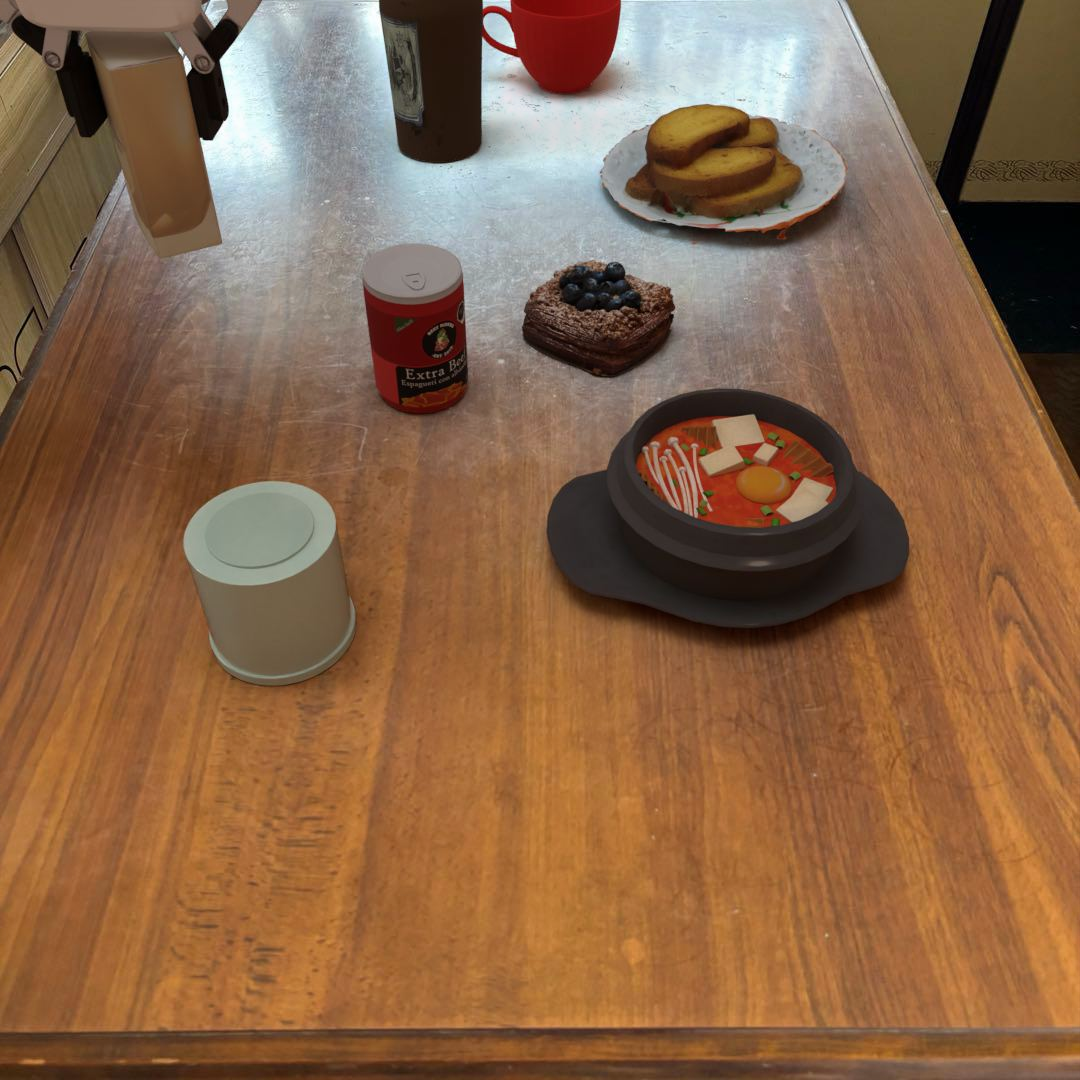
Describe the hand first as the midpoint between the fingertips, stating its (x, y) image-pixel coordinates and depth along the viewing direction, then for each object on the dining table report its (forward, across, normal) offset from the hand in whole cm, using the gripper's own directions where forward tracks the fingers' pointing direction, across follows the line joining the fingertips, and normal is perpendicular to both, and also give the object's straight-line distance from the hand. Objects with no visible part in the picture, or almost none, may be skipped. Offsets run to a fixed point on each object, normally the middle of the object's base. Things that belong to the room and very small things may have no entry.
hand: (153, 127), depth 67 cm
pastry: (+26, +28, +18) cm, 42 cm away
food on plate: (+26, +40, +45) cm, 66 cm away
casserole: (+26, +37, -8) cm, 46 cm away
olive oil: (+26, +10, +54) cm, 61 cm away
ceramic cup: (+26, +21, +72) cm, 79 cm away
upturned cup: (+26, +8, -18) cm, 32 cm away
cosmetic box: (+7, 0, 0) cm, 7 cm away
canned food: (+26, +14, +9) cm, 30 cm away
